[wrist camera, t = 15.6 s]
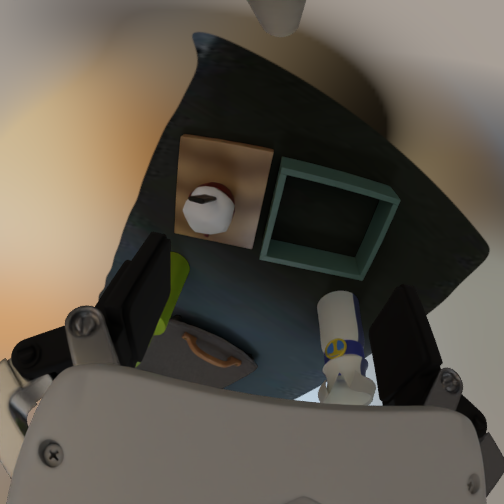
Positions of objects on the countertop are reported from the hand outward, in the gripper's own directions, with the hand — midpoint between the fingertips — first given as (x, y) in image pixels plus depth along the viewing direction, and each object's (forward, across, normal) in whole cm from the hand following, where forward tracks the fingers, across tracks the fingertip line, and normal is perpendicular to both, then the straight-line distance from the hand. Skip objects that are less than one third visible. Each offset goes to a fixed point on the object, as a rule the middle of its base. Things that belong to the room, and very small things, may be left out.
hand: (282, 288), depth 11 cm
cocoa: (+27, +7, +10) cm, 30 cm away
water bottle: (+28, -16, +27) cm, 42 cm away
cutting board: (+28, +7, +10) cm, 31 cm away
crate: (+28, -8, +10) cm, 31 cm away
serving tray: (+28, +12, +56) cm, 64 cm away
